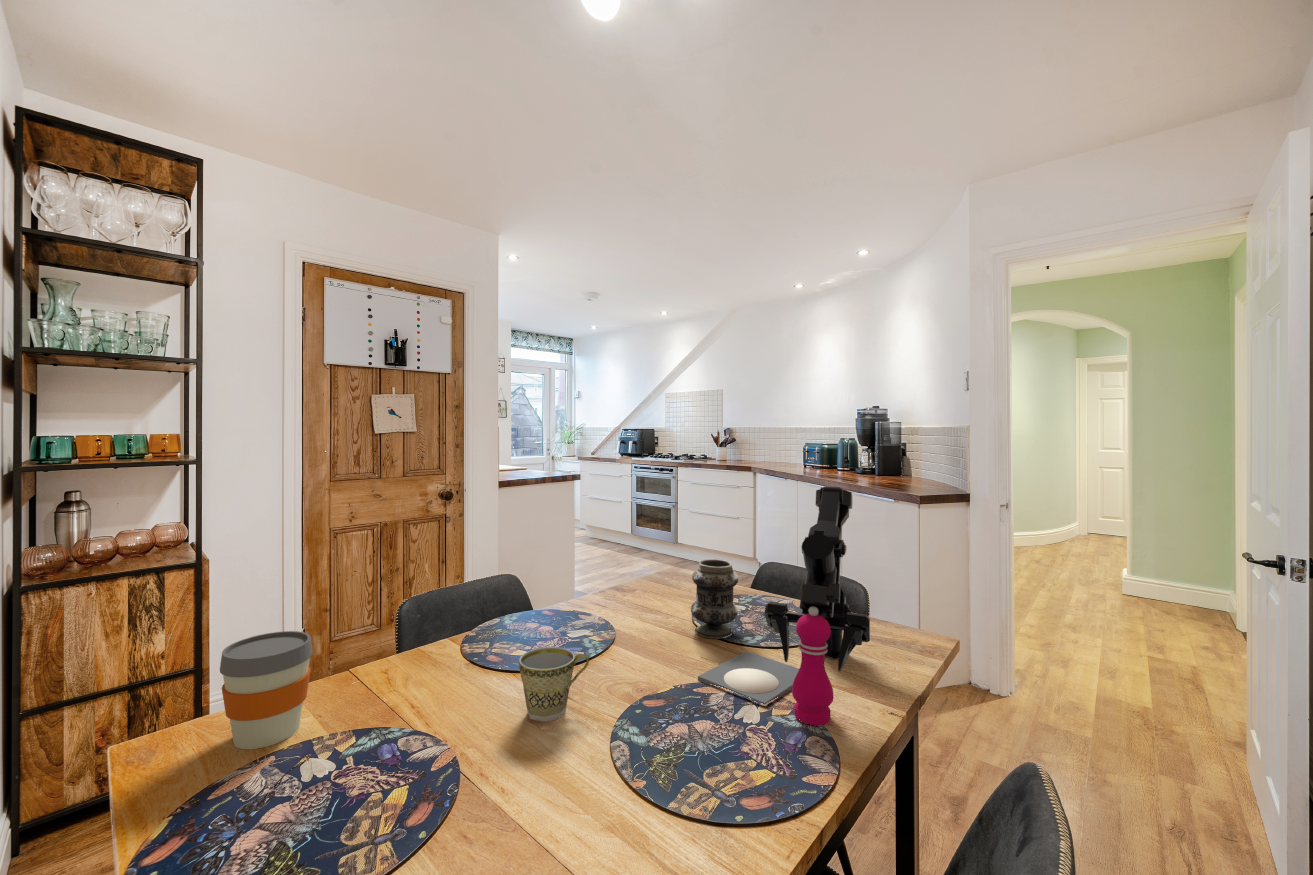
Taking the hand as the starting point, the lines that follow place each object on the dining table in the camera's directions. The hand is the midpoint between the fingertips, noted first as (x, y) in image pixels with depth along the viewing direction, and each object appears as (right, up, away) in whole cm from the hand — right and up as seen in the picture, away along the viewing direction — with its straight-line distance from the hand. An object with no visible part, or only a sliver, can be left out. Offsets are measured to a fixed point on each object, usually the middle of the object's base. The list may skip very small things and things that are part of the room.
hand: (811, 665), depth 96 cm
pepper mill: (0, -10, +1) cm, 10 cm away
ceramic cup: (-46, -9, +3) cm, 47 cm away
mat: (-7, -10, +16) cm, 20 cm away
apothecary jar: (-13, -10, +42) cm, 45 cm away
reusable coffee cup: (-93, -9, -6) cm, 93 cm away
